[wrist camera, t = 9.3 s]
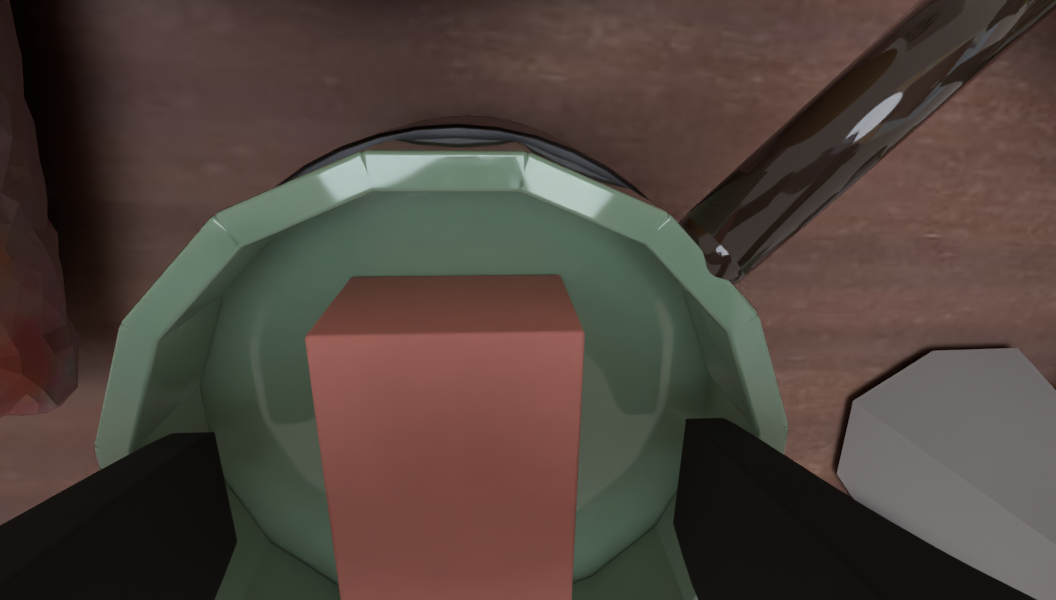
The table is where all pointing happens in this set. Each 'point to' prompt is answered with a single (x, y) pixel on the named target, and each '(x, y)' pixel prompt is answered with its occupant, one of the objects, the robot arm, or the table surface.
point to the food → (28, 258)
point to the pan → (519, 249)
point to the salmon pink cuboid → (450, 435)
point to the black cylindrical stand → (471, 130)
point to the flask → (963, 461)
